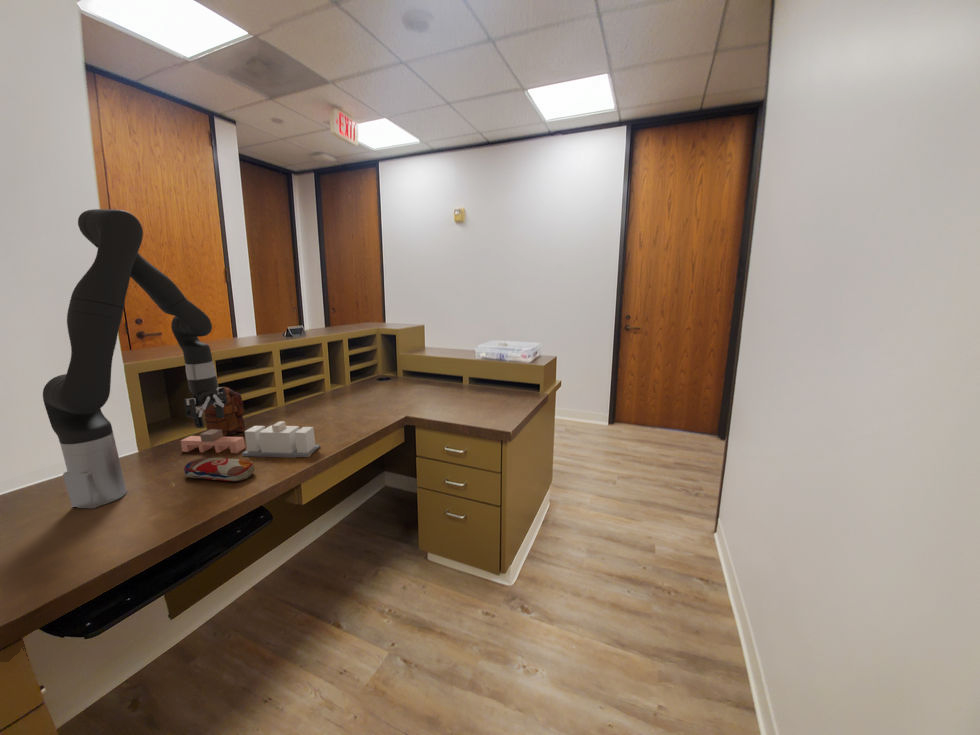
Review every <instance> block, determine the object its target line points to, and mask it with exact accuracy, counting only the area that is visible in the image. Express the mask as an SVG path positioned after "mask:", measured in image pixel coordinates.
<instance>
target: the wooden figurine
mask: <svg viewBox="0 0 980 735" xmlns="http://www.w3.org/2000/svg"><path fill="white" fill-rule="evenodd" d="M219 387H220V386H218V388H219ZM221 387H222V388H225V392H226V397H227V401H228V403H227V404H225V405H224V407H223V410H224V418H217V417H216V411H215V408H216V407H215V406H214V405H209V406H208V407H206V409H205V410H204V411H203V413H205V414H204V421H205V427H206V431H208V430H210V429H220V430H222V434H223V437H229V436H233V435H237V434H238V433H241V432H244V431H246V426H245V421H244V415H245V410H244V409H245V408H244V403H243V397H242V395H241V393H239V392H236V391H234V390H233V389H231V388H229V387H228V386H227V387H226V386H221ZM222 400H223V398H222ZM244 433H245V432H244Z"/></svg>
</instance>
